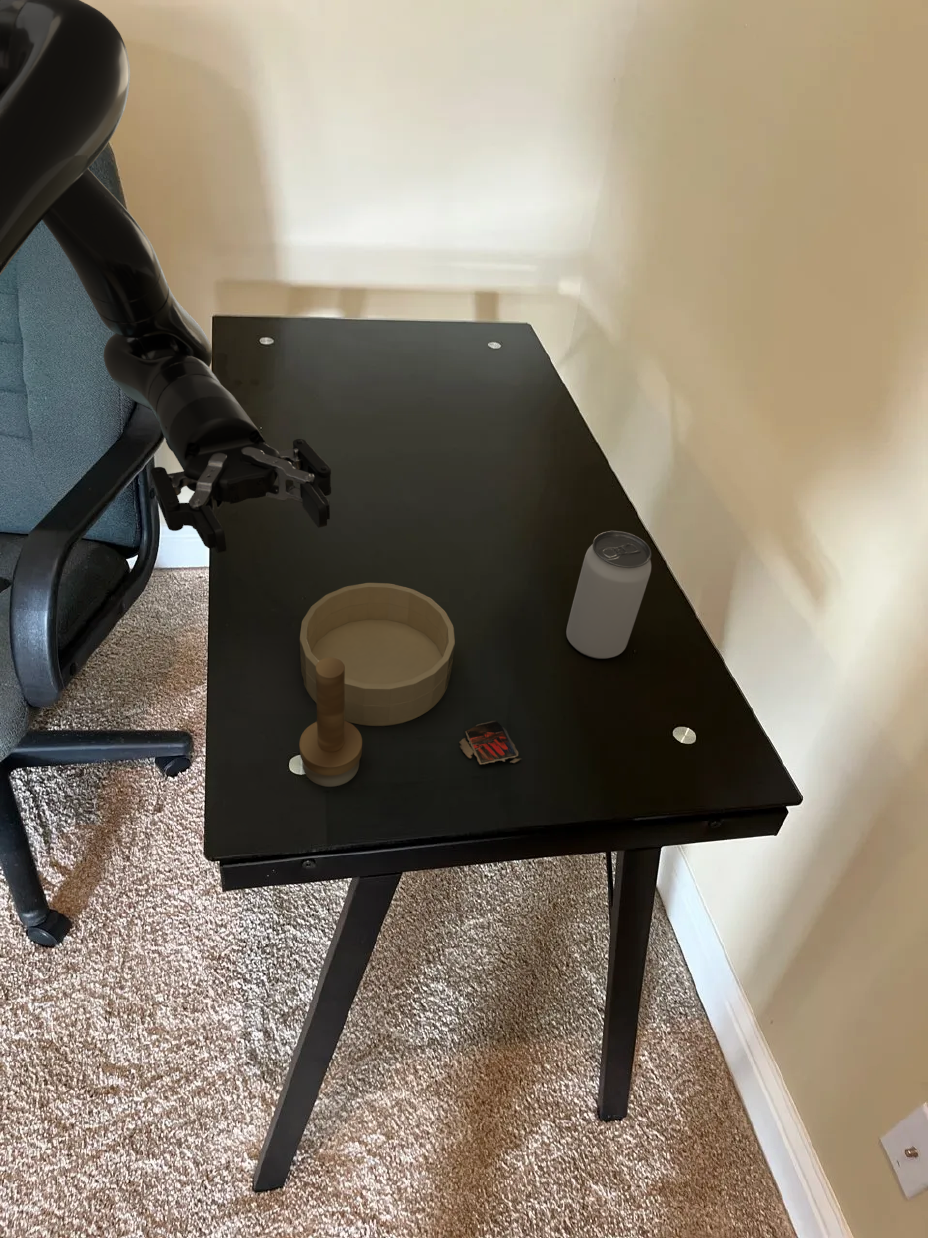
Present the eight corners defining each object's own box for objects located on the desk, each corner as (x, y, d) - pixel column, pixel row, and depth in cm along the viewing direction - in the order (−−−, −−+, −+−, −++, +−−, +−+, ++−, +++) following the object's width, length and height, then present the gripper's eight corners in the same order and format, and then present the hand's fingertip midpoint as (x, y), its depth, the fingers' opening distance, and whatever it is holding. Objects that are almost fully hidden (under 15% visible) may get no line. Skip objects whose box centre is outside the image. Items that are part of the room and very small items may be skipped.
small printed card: (493, 718, 77) (494, 715, 76) (527, 757, 74) (528, 753, 73) (451, 738, 74) (452, 735, 74) (484, 778, 71) (485, 775, 71)
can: (554, 625, 87) (576, 534, 79) (605, 613, 90) (632, 523, 82) (584, 667, 83) (611, 575, 75) (638, 653, 85) (669, 562, 77)
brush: (290, 779, 70) (284, 681, 61) (314, 734, 73) (311, 636, 65) (349, 795, 69) (350, 699, 61) (369, 749, 73) (373, 652, 65)
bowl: (277, 703, 76) (274, 664, 72) (334, 606, 86) (333, 569, 83) (426, 743, 74) (430, 705, 70) (465, 639, 84) (470, 603, 81)
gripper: (121, 408, 70) (178, 512, 61) (281, 382, 77) (355, 472, 67) (136, 482, 75) (191, 589, 66) (284, 452, 82) (354, 545, 72)
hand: (273, 530), depth 66 cm, fingers open, 8 cm apart
